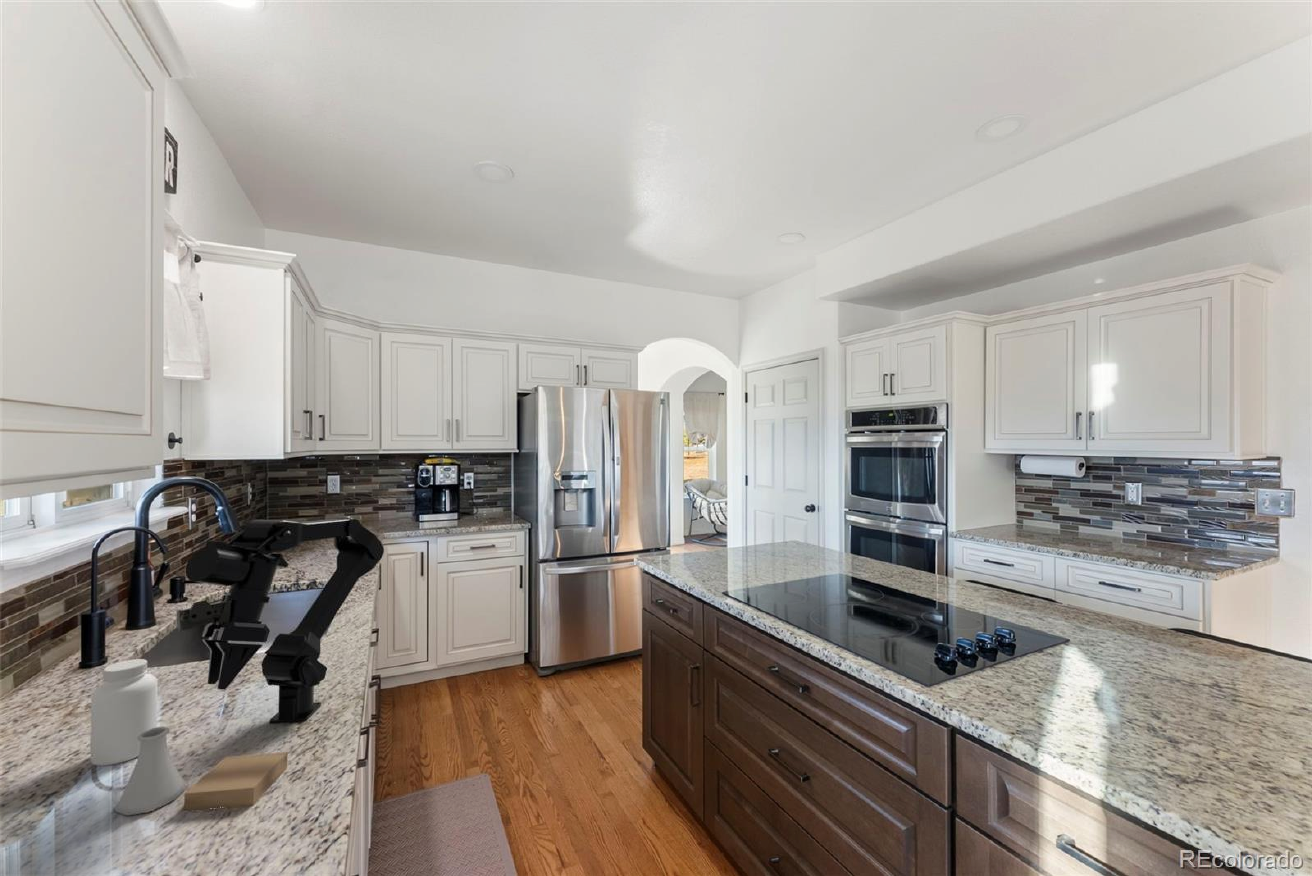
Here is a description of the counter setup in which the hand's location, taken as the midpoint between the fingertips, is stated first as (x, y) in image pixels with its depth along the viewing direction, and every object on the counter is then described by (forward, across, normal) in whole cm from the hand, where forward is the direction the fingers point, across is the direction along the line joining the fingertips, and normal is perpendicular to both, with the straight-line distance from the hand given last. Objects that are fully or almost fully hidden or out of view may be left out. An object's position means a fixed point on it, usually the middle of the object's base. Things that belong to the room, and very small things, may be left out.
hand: (216, 686), depth 86 cm
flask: (+15, +2, -3) cm, 16 cm away
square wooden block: (+14, +8, +6) cm, 17 cm away
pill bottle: (+12, -17, -6) cm, 22 cm away
